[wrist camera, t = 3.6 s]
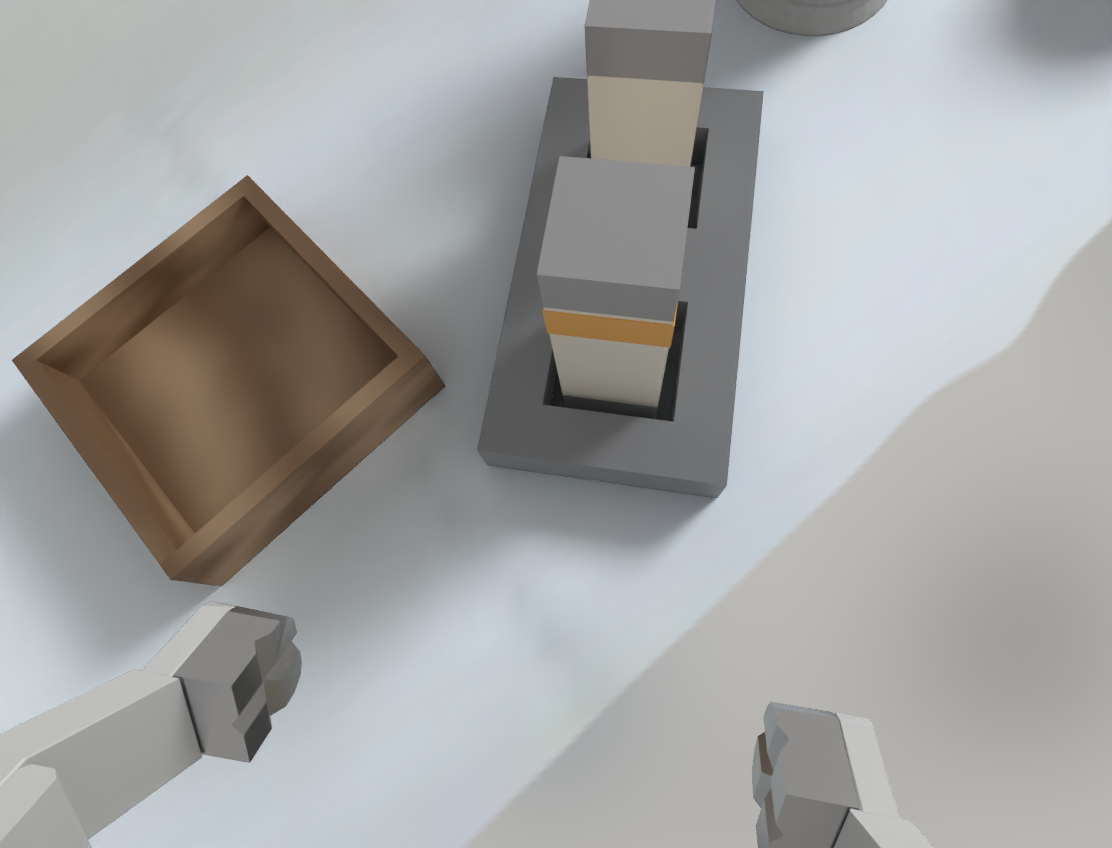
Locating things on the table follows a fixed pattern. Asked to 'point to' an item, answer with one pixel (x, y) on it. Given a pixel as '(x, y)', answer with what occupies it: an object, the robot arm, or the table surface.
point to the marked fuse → (613, 279)
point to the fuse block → (702, 310)
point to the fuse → (646, 77)
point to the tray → (226, 384)
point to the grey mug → (812, 14)
